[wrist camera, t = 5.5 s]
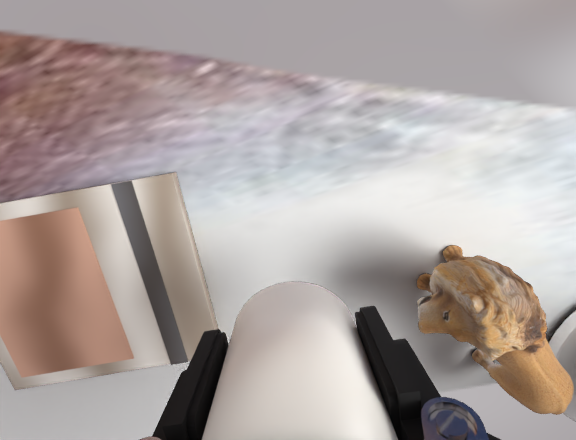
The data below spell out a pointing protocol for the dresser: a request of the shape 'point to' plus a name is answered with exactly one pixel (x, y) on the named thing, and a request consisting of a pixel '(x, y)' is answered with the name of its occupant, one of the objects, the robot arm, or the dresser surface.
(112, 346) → the board
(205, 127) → the dresser surface
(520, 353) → the lion figurine
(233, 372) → the white rounded cylinder
